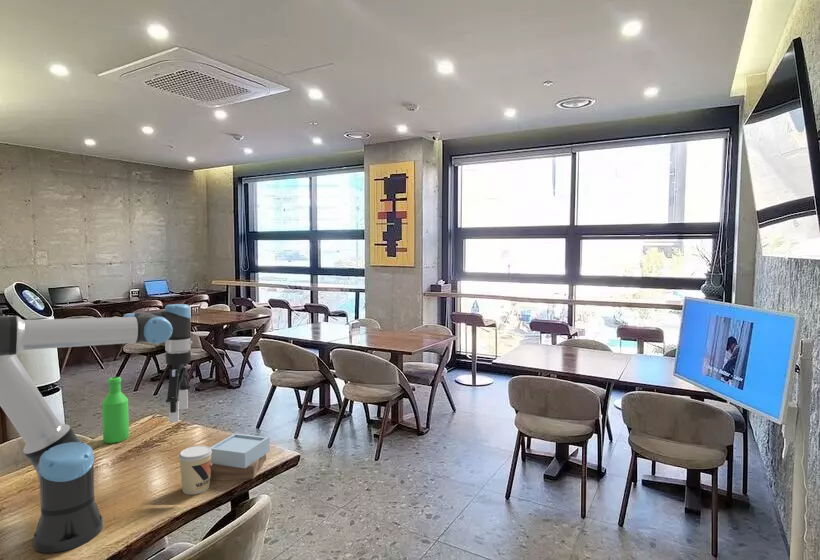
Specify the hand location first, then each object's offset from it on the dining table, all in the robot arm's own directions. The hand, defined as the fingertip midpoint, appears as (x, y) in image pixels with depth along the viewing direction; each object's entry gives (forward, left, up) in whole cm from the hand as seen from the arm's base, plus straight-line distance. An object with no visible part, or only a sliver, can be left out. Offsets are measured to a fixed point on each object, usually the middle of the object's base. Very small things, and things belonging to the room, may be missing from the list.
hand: (178, 415), depth 157 cm
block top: (+7, -18, -16) cm, 25 cm away
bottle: (+24, +44, -21) cm, 55 cm away
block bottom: (+7, -17, -21) cm, 28 cm away
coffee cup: (-7, -11, -21) cm, 24 cm away
